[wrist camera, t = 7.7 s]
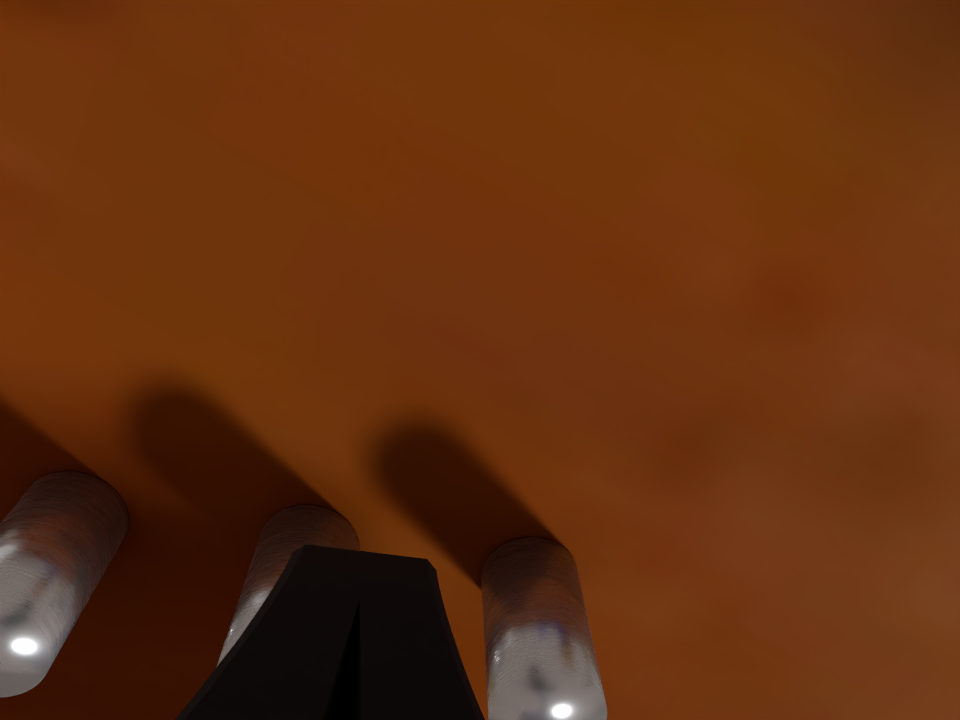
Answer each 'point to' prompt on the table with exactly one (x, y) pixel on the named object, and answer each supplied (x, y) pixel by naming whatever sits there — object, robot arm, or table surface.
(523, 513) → the table surface
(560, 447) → the table surface
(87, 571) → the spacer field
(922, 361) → the table surface
